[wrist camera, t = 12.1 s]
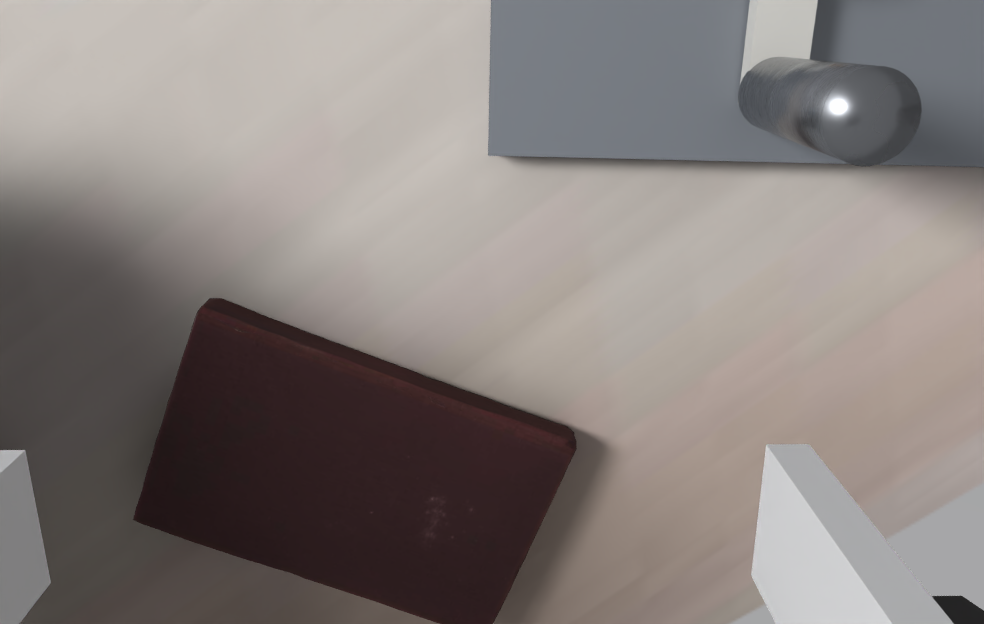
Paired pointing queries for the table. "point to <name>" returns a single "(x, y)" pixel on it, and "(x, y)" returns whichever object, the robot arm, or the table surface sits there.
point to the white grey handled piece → (821, 90)
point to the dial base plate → (714, 77)
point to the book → (349, 469)
